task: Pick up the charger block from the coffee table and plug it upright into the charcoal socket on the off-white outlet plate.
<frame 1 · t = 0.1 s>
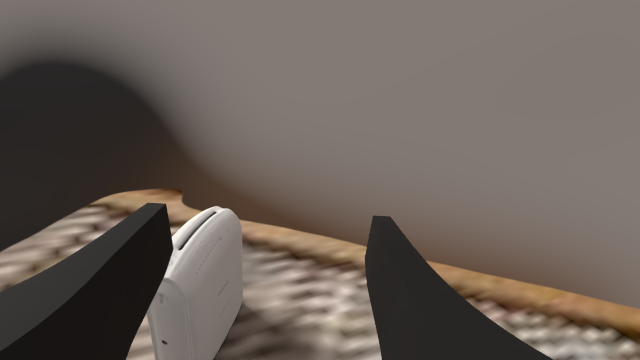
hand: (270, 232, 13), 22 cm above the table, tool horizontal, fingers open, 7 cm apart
photo printer: (205, 338, 34), on the table
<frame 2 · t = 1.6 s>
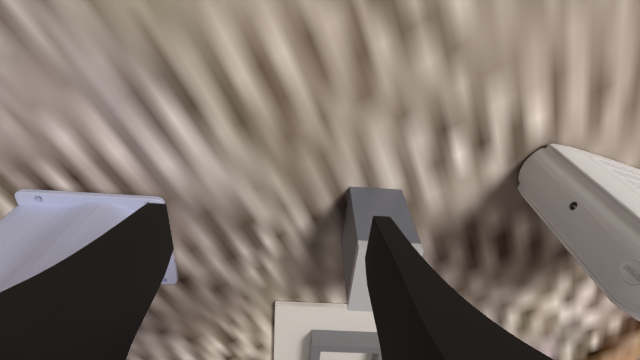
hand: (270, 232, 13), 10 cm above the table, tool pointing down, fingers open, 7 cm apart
outlet plate: (344, 354, 34), on the table
charger block: (370, 217, 26), on the table
photo printer: (584, 180, 25), on the table
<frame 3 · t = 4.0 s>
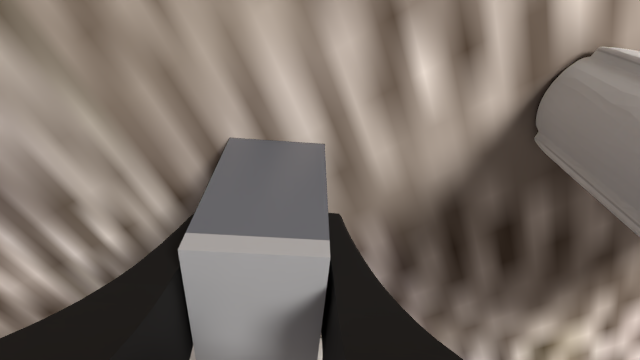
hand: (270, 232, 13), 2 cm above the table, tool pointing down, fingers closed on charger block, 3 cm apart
charger block: (276, 196, 15), on the table, touching gripper
when the fingers open (4 cm above the table, at t = 9.0 s): charger block stays where it is, resting on outlet plate.
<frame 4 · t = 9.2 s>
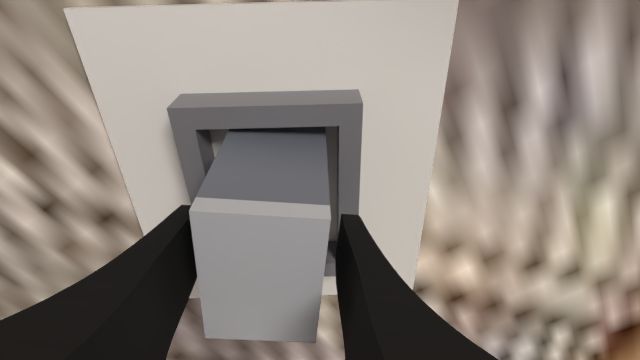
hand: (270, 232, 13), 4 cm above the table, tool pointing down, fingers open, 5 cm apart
outlet plate: (279, 179, 16), on the table
charger block: (278, 176, 15), resting on outlet plate
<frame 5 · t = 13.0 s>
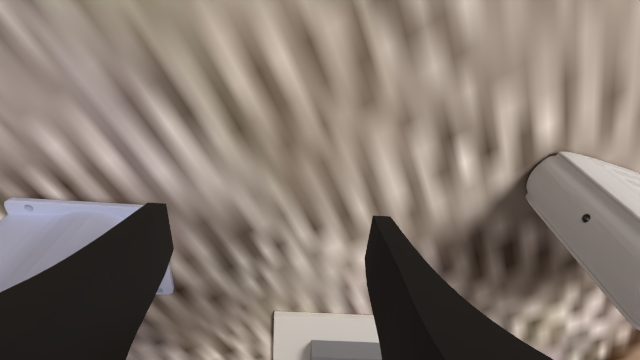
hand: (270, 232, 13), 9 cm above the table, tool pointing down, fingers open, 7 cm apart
photo printer: (594, 188, 24), on the table
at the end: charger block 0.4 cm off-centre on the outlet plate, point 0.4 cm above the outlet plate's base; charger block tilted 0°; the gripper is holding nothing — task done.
